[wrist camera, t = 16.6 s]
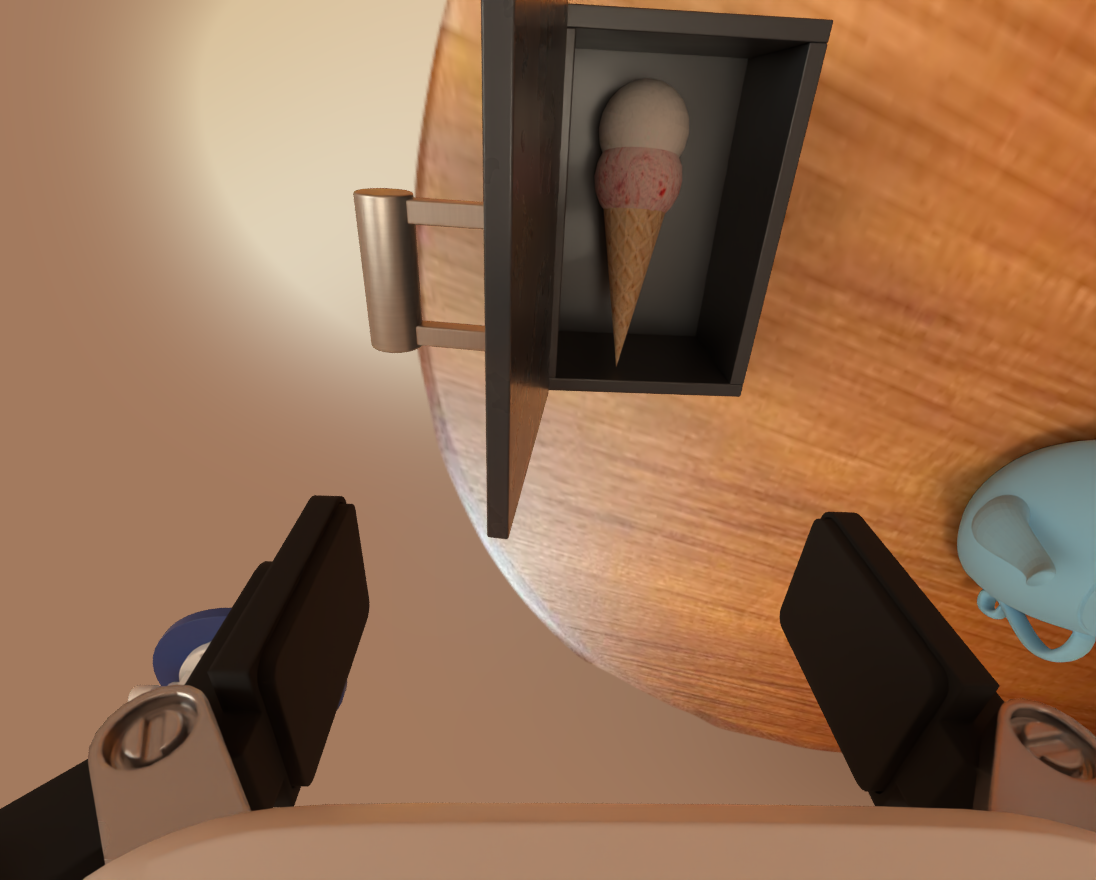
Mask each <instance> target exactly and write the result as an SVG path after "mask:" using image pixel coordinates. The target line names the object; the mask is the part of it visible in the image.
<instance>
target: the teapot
mask: <svg viewBox="0 0 1096 880" xmlns="http://www.w3.org/2000/svg"><path fill="white" fill-rule="evenodd" d="M957 551H958V556H959V559H960V562H961V564H962V567H963V569H964V570H965V572H966V573H967V574H968V575H969V576H970V577H971V578H972V579H973V580H974V581H975V582H976V583H977V584H978V585H979V586H980V587H981V588H983V590H981V592H980V593H979V595H978V598H977V605H978V607H979V609H980V610H981V611H982V612H983V613H984V614H985V615H987V616H989V617H991V618H994V619H1003V618H1005V617H1007V619H1008V621H1009V623H1010V625H1011V627H1012V629H1013V630H1014V632H1015V634H1016V635H1017V637H1018V638H1019V640H1020V641H1021V642H1022V644H1023V645H1024V646H1025V647H1026V648H1027V649H1028V650H1029V651H1030V652H1032V653H1033V654H1034V655H1036V656H1038V657H1040V658H1042V659H1045V660H1048V661H1053V662H1069V661H1073V660H1077V659H1079V658H1081V657H1083V656H1084V655H1086V654H1087V653H1088V652H1089V651H1090V649H1091V648H1092V646H1093V645H1094V643H1095V638H1096V440H1084V441H1075V442H1069V443H1063V444H1058V445H1053V446H1049V447H1045V448H1042V449H1039V450H1036V451H1033V452H1030V453H1028V454H1026V455H1024V456H1022V457H1020V458H1018V459H1016V460H1014V461H1012V462H1010V463H1009V464H1007V465H1006V466H1004V467H1003V468H1001V469H1000V470H999V471H997V472H996V473H995V474H993V475H992V476H991V477H990V478H989V479H988V480H987V481H986V482H984V483H983V484H982V486H981V487H980V488H979V489H978V490H977V491H976V492H975V494H974V495H973V497H972V498H971V499H970V501H969V503H968V504H967V506H966V508H965V510H964V513H963V515H962V519H961V522H960V526H959V531H958V539H957ZM996 601H998V603H999V604H1000V605H999V606H998V607H997V608H996V609H995V608H994V606H995V603H996ZM1025 614H1026V615H1029V616H1031V617H1034V618H1036V619H1039V620H1041V621H1044V622H1047V623H1050V624H1053V625H1056V626H1059V627H1062V628H1066V629H1069V630H1072V631H1073V633H1072V635H1071V636H1070V638H1069V639H1068V640H1067V642H1066V643H1065V644H1063V645H1062V646H1061V647H1059V648H1056V649H1049V648H1048V647H1047V646H1046V645H1045V644H1044V643H1043V642H1042V641H1041V640H1040V639H1039V637H1038V636H1037V634H1036V633H1035V631H1034V630H1033V628H1032V626H1031V625H1030V623H1029V621H1028V619H1027V617H1026V616H1025Z"/></svg>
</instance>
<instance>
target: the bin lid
mask: <svg viewBox="0 0 1096 880" xmlns="http://www.w3.org/2000/svg"><path fill="white" fill-rule="evenodd" d="M567 19H568V1H567V0H481V44H482V128H483V202H474V201H459V200H444V199H429V198H414V197H413V193H412V192H410V191H407V190H400V189H388V188H373V189H372V188H370V189H360V190H356V191H354V194H353V195H354V203H355V211H356V219H357V227H358V235H359V244H360V252H361V261H362V269H363V277H364V285H365V293H366V302H367V310H368V318H369V326H370V334H371V342H372V346H373V347H374V348H375V349H377V350H379V351H383V352H389V353H402V352H409V351H413V350H416V349H418V348H420V347H421V346H433V347H445V348H456V349H467V350H479V351H485V381H486V465H487V535H488V537H493V538H501V539H508V537H509V534H510V530H511V527H512V523H513V519H514V516H515V512H516V508H517V505H518V501H519V498H520V494H521V490H522V487H523V483H524V479H525V476H526V472H527V469H528V465H529V461H530V458H531V454H532V450H533V447H534V443H535V440H536V436H537V432H538V429H539V425H540V421H541V418H542V414H543V410H544V407H545V403H546V400H547V396H548V386H549V367H550V348H551V328H552V309H553V290H554V270H555V251H556V232H557V212H558V193H559V174H560V154H561V135H562V115H563V96H564V77H565V57H566V38H567ZM415 224H416V225H430V226H444V227H458V228H473V229H484V296H485V326H481V325H469V324H457V323H446V322H434V321H422V309H421V295H420V281H419V267H418V253H417V239H416V225H415Z"/></svg>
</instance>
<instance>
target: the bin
mask: <svg viewBox="0 0 1096 880" xmlns="http://www.w3.org/2000/svg"><path fill="white" fill-rule="evenodd" d="M832 24H833V20H826V19H810V18H794V17H778V16H762V15H746V14H730V13H713V12H697V11H681V10H665V9H649V8H633V7H617V6H601V5H584V4H568V19H567V38H566V57H565V77H564V96H563V115H562V135H561V154H560V174H559V193H558V212H557V232H556V251H555V270H554V290H553V309H552V328H551V348H550V367H549V386H548V390H565V391H593V392H622V393H650V394H679V395H707V396H736V397H739V396H740V395H741V391H742V387H743V383H744V379H745V375H746V371H747V367H748V363H749V359H750V355H751V351H752V347H753V343H754V339H755V335H756V331H757V327H758V323H759V319H760V315H761V311H762V307H763V303H764V298H765V294H766V290H767V286H768V282H769V278H770V274H771V270H772V266H773V262H774V258H775V254H776V250H777V246H778V242H779V238H780V234H781V230H782V226H783V222H784V218H785V214H786V210H787V206H788V202H789V198H790V194H791V190H792V186H793V182H794V177H795V173H796V169H797V165H798V161H799V157H800V153H801V149H802V145H803V141H804V137H805V133H806V129H807V125H808V121H809V117H810V113H811V109H812V105H813V101H814V97H815V93H816V89H817V85H818V81H819V77H820V73H821V69H822V65H823V60H824V56H825V52H826V48H827V43H828V40H829V36H830V32H831V28H832ZM644 78H649V79H656V80H661V81H663V82H665V83H667V84H668V85H670V86H672V87H673V88H674V89H675V90H676V91H677V93H678V94H679V95H680V96H681V98H682V99H683V100H684V103H685V106H686V109H687V112H688V115H689V135H688V138H687V142H686V145H685V149H684V150H683V152H682V154H681V155H680V157H679V158H680V161H681V164H682V184H681V188H680V191H679V195H678V197H677V199H676V200H675V202H674V203H673V205H672V207H671V208H670V209H669V210H668V211H667V212H666V213H665V215H664V218H663V221H662V225H661V228H660V231H659V234H658V237H657V240H656V243H655V247H654V250H653V253H652V256H651V259H650V262H649V265H648V269H647V272H646V275H645V278H644V281H643V284H642V287H641V291H640V294H639V297H638V300H637V303H636V306H635V310H634V313H633V316H632V319H631V322H630V325H629V328H628V332H627V335H626V338H625V341H624V344H623V347H622V350H621V354H620V357H619V360H618V363H617V366H616V361H615V348H614V335H613V323H612V310H611V297H610V285H609V272H608V259H607V247H606V234H605V221H604V209H603V208H602V206H601V205H600V203H599V200H598V197H597V194H596V192H595V179H594V175H595V171H596V167H597V163H598V160H599V158H600V157H601V155H602V153H603V152H602V150H601V147H600V143H599V126H600V121H601V117H602V113H603V111H604V109H605V107H606V105H607V103H608V102H609V100H610V99H611V97H612V96H613V95H614V94H615V93H616V92H617V91H618V90H619V89H620V88H622V87H623V86H625V85H627V84H628V83H630V82H632V81H635V80H639V79H644Z"/></svg>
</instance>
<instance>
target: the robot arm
mask: <svg viewBox="0 0 1096 880" xmlns="http://www.w3.org/2000/svg"><path fill="white" fill-rule="evenodd" d="M368 613H369V596H368V589H367V583H366V576H365V570H364V563H363V556H362V549H361V543H360V537H359V530H358V523H357V517H356V510H355V506H354V505H353V504H346V500H345V499H344V497H342V496H316V495H315V496H312V497H311V498H310V500H309V501H308V503H307V504H306V506H305V508H304V510H303V511H302V513H301V515H300V517H299V518H298V520H297V521H296V523H295V525H294V527H293V528H292V530H291V532H290V533H289V535H288V537H287V538H286V540H285V542H284V543H283V545H282V547H281V548H280V550H279V552H278V553H277V555H276V557H275V558H274V560H273V562H268V561H265V562H263V563H261V564H260V565H259V566H258V568H257V569H256V570H255V571H254V573H253V575H252V576H251V578H250V580H249V581H248V583H247V585H246V586H245V588H244V589H243V591H242V592H241V594H240V596H239V597H238V599H237V601H236V602H235V604H234V605H233V607H232V609H231V610H230V612H229V613H228V615H227V617H226V618H225V620H224V621H223V623H222V625H221V626H220V628H219V630H218V631H217V633H216V634H215V636H214V638H213V639H212V641H211V642H209V643H206V644H203V645H201V646H199V647H198V648H196V649H194V650H193V651H192V652H191V653H190V654H189V655H188V656H187V658H186V660H185V661H184V663H183V665H182V666H181V669H180V672H179V681H180V682H172V683H170V684H169V685H168V686H158V685H137V686H135V687H134V688H133V689H132V690H131V692H130V694H129V697H128V702H127V703H125V704H124V705H123V706H121V707H120V708H119V709H118V710H117V711H115V712H114V713H113V714H112V715H111V716H109V717H108V718H107V720H106V721H105V722H104V724H103V725H102V726H101V727H100V728H99V730H98V731H97V732H96V734H95V736H94V739H93V740H92V743H91V745H90V747H89V755H88V759H87V760H85V761H83V762H82V763H80V764H78V765H76V766H75V767H73V768H71V769H69V770H68V771H66V772H64V773H63V774H61V775H59V776H57V777H56V778H54V779H52V780H50V781H49V782H47V783H45V784H43V785H41V786H40V787H38V788H36V789H34V790H33V791H31V792H29V793H27V794H26V795H24V796H22V797H21V798H19V799H17V800H15V801H13V802H12V803H10V804H8V805H6V806H5V807H3V808H1V809H0V880H1096V737H1095V736H1094V735H1093V734H1092V733H1091V732H1090V731H1089V730H1088V729H1086V728H1085V727H1084V726H1082V725H1081V724H1080V723H1078V722H1077V721H1076V720H1074V719H1073V718H1071V717H1070V716H1068V715H1066V714H1064V713H1063V712H1061V711H1059V710H1057V709H1056V708H1053V707H1051V706H1048V705H1046V704H1043V703H1041V702H1038V701H1033V700H1028V699H1023V698H1022V699H1010V700H1008V701H1006V702H1004V701H1003V700H1002V699H1001V697H1000V696H999V695H998V694H997V692H996V690H997V689H998V688H999V684H998V683H997V682H996V681H995V680H994V678H993V677H992V676H991V675H990V673H989V672H988V671H987V670H986V669H985V667H984V666H983V665H982V664H981V662H980V661H979V660H978V659H977V658H976V656H975V655H974V654H973V653H972V651H971V650H970V649H969V648H968V647H967V645H966V644H965V643H964V642H963V640H962V639H961V638H960V637H959V636H958V634H957V633H956V632H955V631H954V629H953V628H952V627H951V626H950V625H949V623H948V622H947V621H946V620H945V618H944V617H943V616H942V615H941V614H940V612H939V611H938V610H937V609H936V607H935V606H934V605H933V604H932V603H931V601H930V600H929V599H928V598H927V596H926V595H925V594H924V593H923V592H922V590H921V589H920V588H919V587H918V585H917V584H916V583H915V582H914V581H913V579H912V578H911V577H910V576H909V574H908V573H907V572H906V571H905V570H904V568H903V567H902V566H901V565H900V563H899V562H898V561H897V560H896V559H895V557H894V556H893V555H892V554H891V552H890V551H889V550H888V549H887V548H886V546H885V545H884V544H883V543H882V541H881V540H880V539H879V538H878V537H877V535H876V534H875V533H874V532H873V530H872V529H871V528H870V527H869V526H868V524H867V523H866V522H865V521H864V519H863V518H862V517H861V516H860V515H859V514H857V513H849V512H826V513H824V514H823V515H822V517H821V519H816V520H815V521H814V523H813V525H812V527H811V530H810V533H809V535H808V538H807V541H806V543H805V546H804V549H803V551H802V554H801V557H800V559H799V562H798V564H797V567H796V570H795V572H794V575H793V578H792V580H791V583H790V586H789V588H788V591H787V594H786V596H785V599H784V602H783V604H782V607H781V610H780V623H781V627H782V629H783V631H784V633H785V636H786V638H787V640H788V642H789V644H790V646H791V648H792V650H793V652H794V654H795V656H796V658H797V660H798V662H799V664H800V667H801V669H802V671H803V673H804V675H805V677H806V679H807V681H808V683H809V685H810V687H811V689H812V691H813V693H814V696H815V698H816V700H817V702H818V704H819V706H820V708H821V710H822V712H823V714H824V716H825V718H826V720H827V722H828V724H829V727H830V729H831V731H832V733H833V735H834V737H835V739H836V741H837V743H838V745H839V747H840V749H841V751H842V753H843V755H844V757H845V760H846V762H847V764H848V766H849V768H850V770H851V772H852V774H853V776H854V778H855V780H856V782H857V784H858V785H859V786H860V788H861V789H862V790H864V791H868V792H869V794H870V796H871V799H872V801H873V803H874V805H875V806H814V805H740V804H737V805H736V804H728V805H727V804H612V803H611V804H610V803H605V804H603V803H383V804H329V805H328V804H325V805H310V806H295V807H294V805H295V802H296V799H297V796H298V793H299V791H300V788H301V786H309V785H310V784H311V783H312V781H313V778H314V776H315V773H316V770H317V767H318V764H319V761H320V758H321V755H322V752H323V749H324V746H325V743H326V740H327V737H328V734H329V731H330V728H331V725H332V723H333V720H334V717H335V714H336V711H337V708H338V705H339V702H340V699H341V696H342V693H343V690H344V687H345V684H346V681H347V678H348V675H349V672H350V669H351V666H352V663H353V660H354V657H355V654H356V651H357V648H358V645H359V642H360V639H361V636H362V633H363V630H364V627H365V624H366V621H367V618H368ZM273 807H279V808H273Z"/></svg>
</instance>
